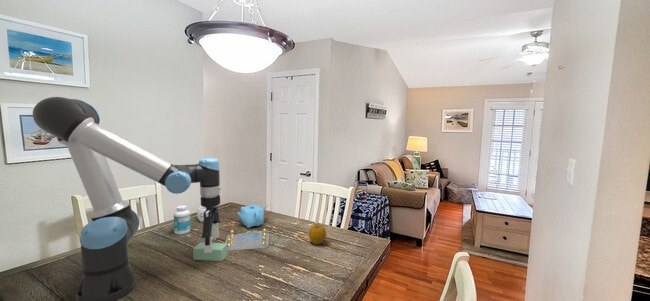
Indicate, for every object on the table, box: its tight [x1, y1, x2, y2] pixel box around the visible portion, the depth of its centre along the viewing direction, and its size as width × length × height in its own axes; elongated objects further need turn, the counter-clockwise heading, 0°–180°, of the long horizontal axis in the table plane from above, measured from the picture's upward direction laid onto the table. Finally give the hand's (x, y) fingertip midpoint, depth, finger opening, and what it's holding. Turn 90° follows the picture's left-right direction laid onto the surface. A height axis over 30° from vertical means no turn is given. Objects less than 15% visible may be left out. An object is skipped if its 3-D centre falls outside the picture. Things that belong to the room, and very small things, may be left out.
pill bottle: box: [173, 205, 191, 235], centre depth 137 cm, size 8×7×14 cm
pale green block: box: [192, 241, 229, 262], centre depth 113 cm, size 12×6×5 cm, turn 87°
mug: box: [196, 205, 206, 222], centre depth 155 cm, size 12×8×8 cm
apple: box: [308, 224, 327, 246], centre depth 129 cm, size 9×8×9 cm
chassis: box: [224, 228, 270, 251], centre depth 128 cm, size 20×14×4 cm
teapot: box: [236, 204, 268, 229], centre depth 150 cm, size 16×18×11 cm
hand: (212, 244), depth 113 cm, fingers open, 13 cm apart
